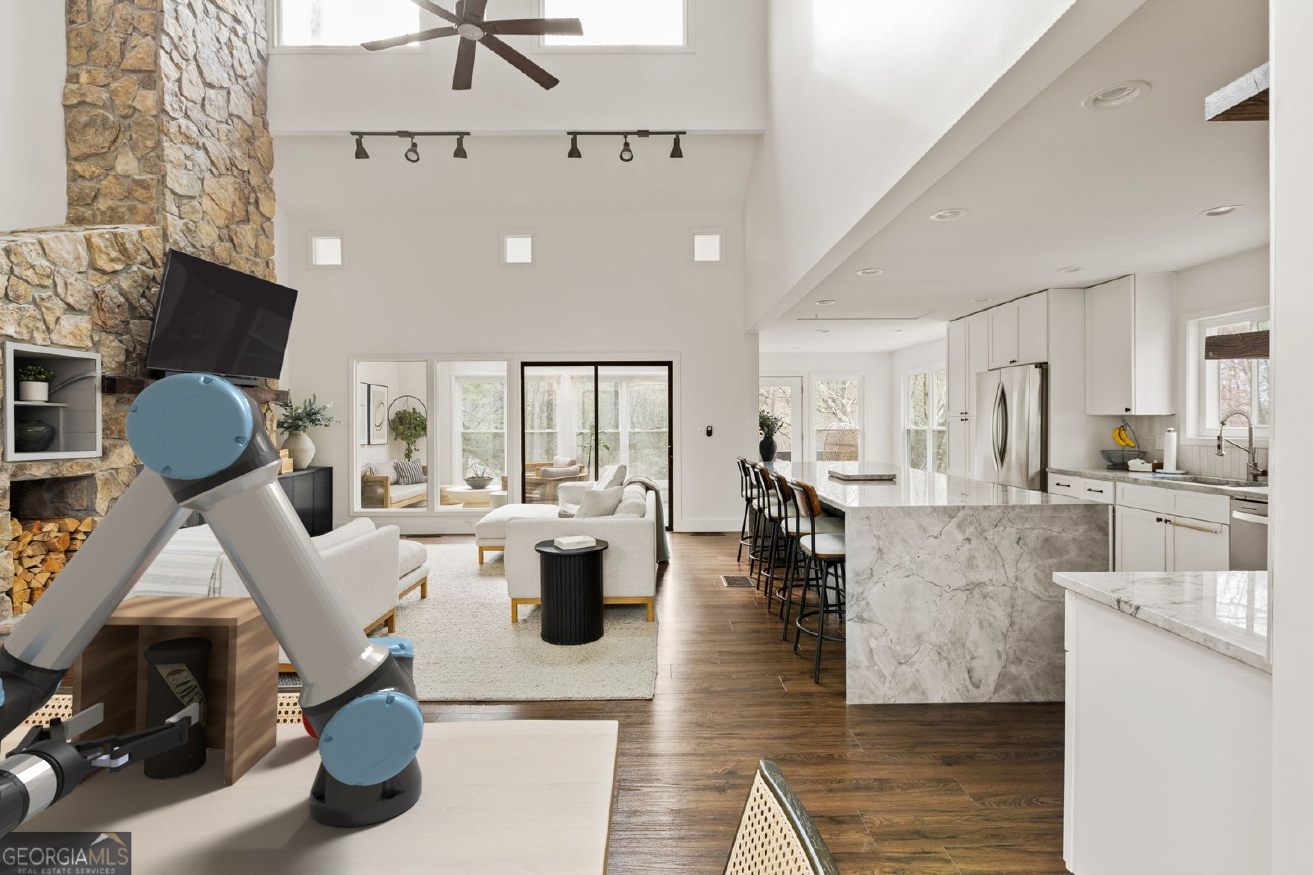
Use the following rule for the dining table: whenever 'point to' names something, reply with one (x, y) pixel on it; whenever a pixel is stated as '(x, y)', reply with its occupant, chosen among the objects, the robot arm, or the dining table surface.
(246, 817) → the dining table surface
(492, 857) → the dining table surface
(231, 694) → the cubby
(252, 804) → the dining table surface
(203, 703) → the container
